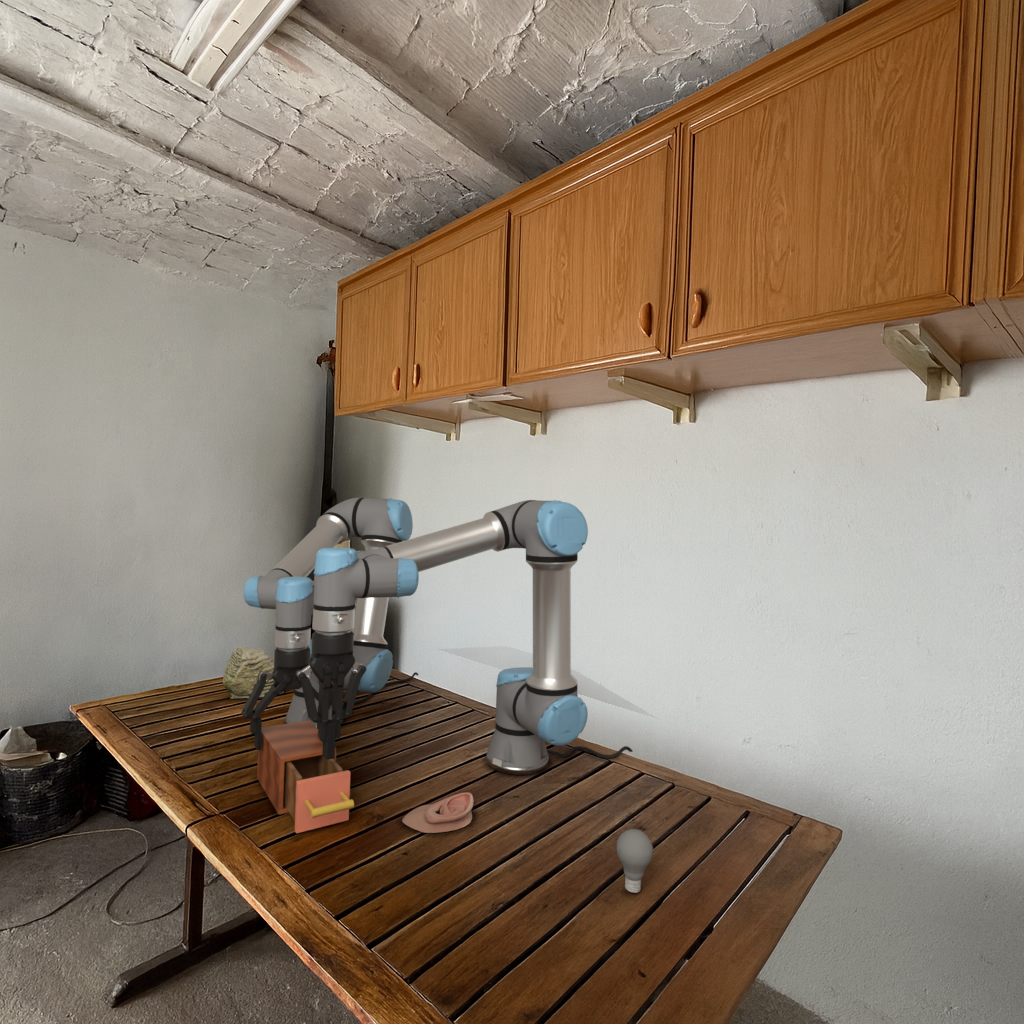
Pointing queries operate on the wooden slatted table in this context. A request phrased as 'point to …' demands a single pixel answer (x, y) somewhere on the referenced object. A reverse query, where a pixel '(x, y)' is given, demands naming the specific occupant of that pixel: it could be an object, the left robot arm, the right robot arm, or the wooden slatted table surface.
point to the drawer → (316, 792)
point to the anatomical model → (442, 814)
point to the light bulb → (634, 857)
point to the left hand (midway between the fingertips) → (289, 742)
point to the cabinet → (284, 755)
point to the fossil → (247, 672)
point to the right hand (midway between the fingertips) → (328, 756)
